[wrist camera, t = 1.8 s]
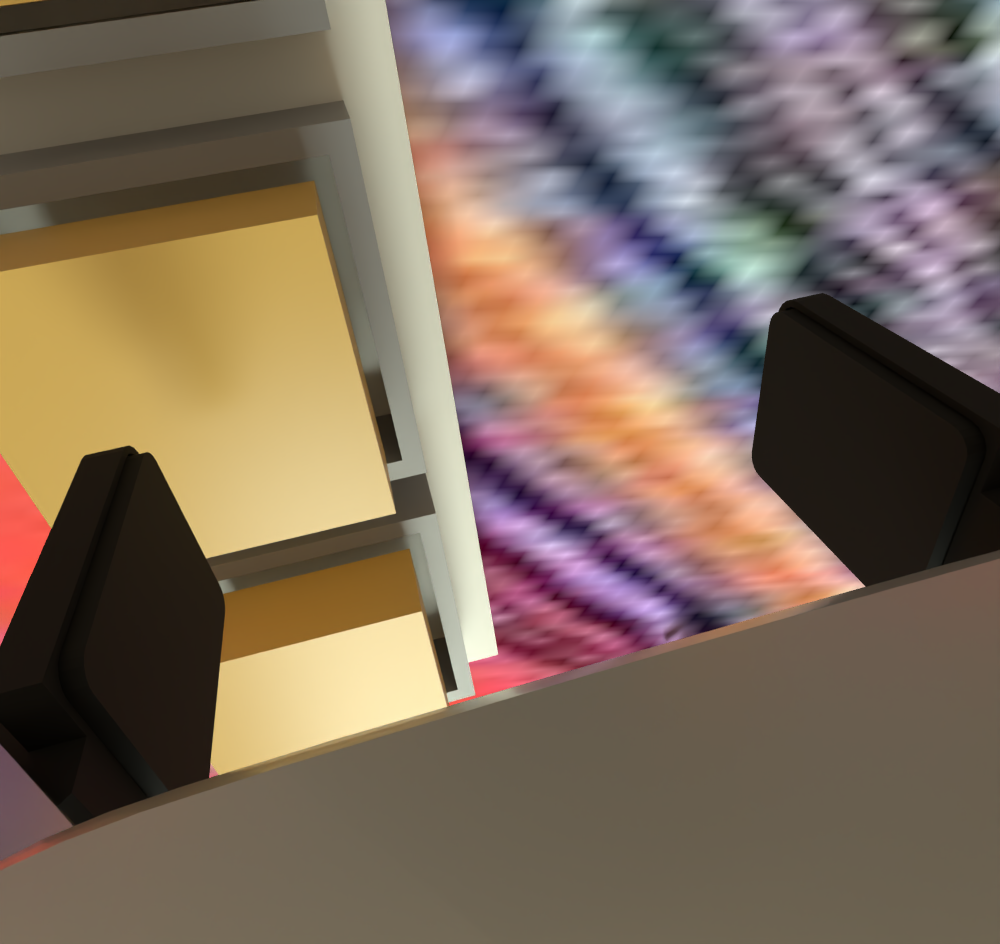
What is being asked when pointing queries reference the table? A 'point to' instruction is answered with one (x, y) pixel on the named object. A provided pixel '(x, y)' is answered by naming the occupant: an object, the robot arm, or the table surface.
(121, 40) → the strip
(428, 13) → the table surface
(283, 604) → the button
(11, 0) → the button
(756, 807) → the robot arm
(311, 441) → the button middle
